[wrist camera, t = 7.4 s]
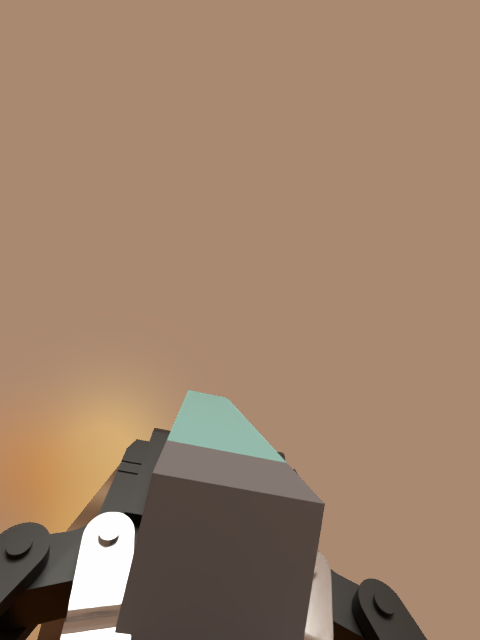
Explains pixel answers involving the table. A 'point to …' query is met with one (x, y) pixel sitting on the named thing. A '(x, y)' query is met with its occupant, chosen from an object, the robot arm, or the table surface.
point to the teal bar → (221, 536)
